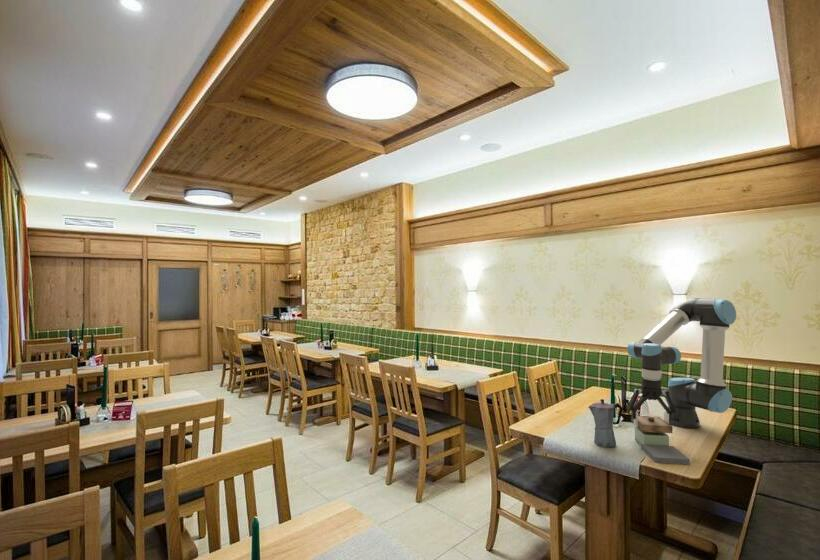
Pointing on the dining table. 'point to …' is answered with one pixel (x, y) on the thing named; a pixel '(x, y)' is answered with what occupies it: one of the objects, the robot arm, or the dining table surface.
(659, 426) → the lid
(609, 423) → the moka pot
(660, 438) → the green open box
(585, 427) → the dining table surface
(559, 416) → the dining table surface
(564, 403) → the dining table surface
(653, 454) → the mat
